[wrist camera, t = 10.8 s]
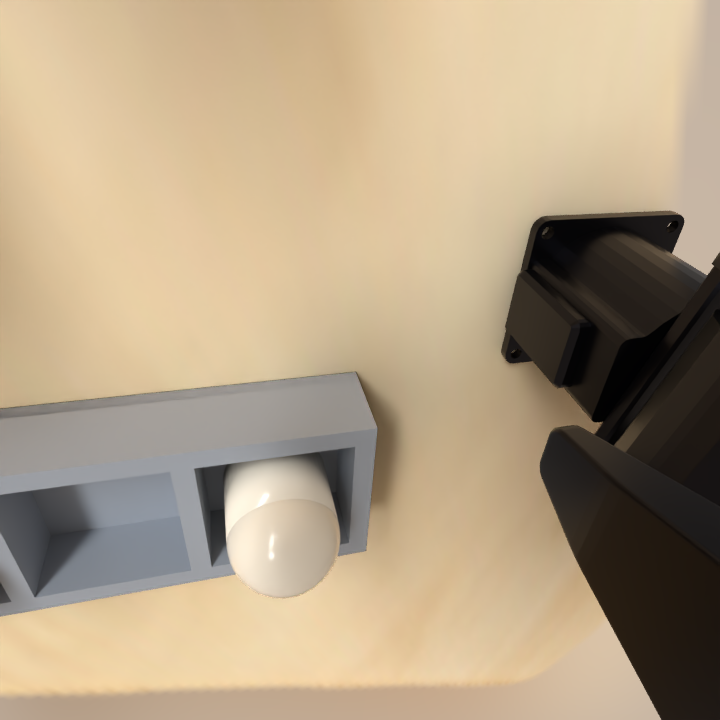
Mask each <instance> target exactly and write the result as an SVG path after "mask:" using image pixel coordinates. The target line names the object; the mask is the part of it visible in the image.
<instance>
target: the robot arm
mask: <svg viewBox="0 0 720 720" xmlns="http://www.w3.org/2000/svg"><path fill="white" fill-rule="evenodd" d="M669 223H671V224H670V225H669ZM668 225H669V226H668ZM683 225H684V218H683V217H682V216H681V215H680V214H678V213H676V212H674V211H655V212H631V213H608V214H584V215H560V216H544V217H541V218H539V219H538V220H536V222H535V223H534V224H533V226H532V228H531V231H530V235H529V239H528V243H527V247H526V251H525V256H524V260H523V264H522V268H521V272H520V273H519V275H518V276H517V280H516V284H515V289H514V293H513V297H512V301H511V305H510V309H509V313H508V317H507V322H506V326H505V327H506V333H505V337H504V341H503V345H502V350H501V353H502V355H503V357H504V358H505V359H506V361H507V362H509V363H520V362H529V361H533V362H534V363H535V364H536V365H537V366H538V368H539V369H540V370H541V371H542V372H543V373H544V375H545V376H546V377H547V378H548V379H549V381H550V382H551V383H552V384H553V385H554V386H555V387H556V388H565V389H566V391H567V392H568V393H569V394H570V395H571V396H572V398H573V399H574V400H575V401H576V402H577V403H578V405H579V406H580V407H581V408H582V409H583V410H584V412H585V413H586V414H587V415H588V416H589V417H590V419H591V420H592V421H593V422H603V423H602V424H601V425H600V427H599V428H598V430H597V431H596V432H595V434H592V433H590V432H589V431H587V430H585V429H583V428H581V427H579V426H574V425H573V426H565V427H558V428H555V429H553V430H552V431H551V433H550V435H549V438H548V440H547V443H546V446H545V449H544V452H543V455H542V458H541V461H540V473H541V477H542V479H543V482H544V484H545V487H546V489H547V492H548V494H549V496H550V499H551V501H552V504H553V506H554V509H555V511H556V513H557V516H558V518H559V521H560V523H561V526H562V528H563V530H564V533H565V535H566V538H567V540H568V543H569V545H570V547H571V549H572V552H573V554H574V556H575V558H576V560H577V562H578V564H579V566H580V568H581V570H582V572H583V574H584V576H585V578H586V580H587V582H588V583H589V585H590V587H591V589H592V591H593V593H594V595H595V597H596V598H597V600H598V602H599V604H600V606H601V608H602V610H603V611H604V613H605V615H606V617H607V619H608V621H609V623H610V625H611V626H612V628H613V630H614V632H615V634H616V636H617V638H618V640H619V641H620V643H621V645H622V647H623V649H624V650H625V652H626V654H627V656H628V658H629V660H630V662H631V664H632V666H633V668H634V669H635V671H636V673H637V675H638V677H639V679H640V681H641V682H642V684H643V686H644V688H645V690H646V692H647V694H648V695H649V697H650V699H651V701H652V703H653V705H654V707H655V708H656V711H657V712H658V714H659V716H660V718H661V720H720V253H719V254H718V256H717V257H716V259H715V260H714V261H713V263H712V264H713V265H714V267H713V268H712V270H711V271H710V273H709V274H708V275H705V274H704V273H702V272H701V271H699V270H697V269H696V268H694V267H692V266H691V265H689V264H687V263H686V262H684V261H683V260H681V259H679V258H678V257H676V256H675V255H673V254H672V252H673V250H674V247H675V245H676V242H677V240H678V238H679V235H680V233H681V230H682V228H683ZM667 226H668V227H667ZM546 227H549V229H548V231H547V232H546V233H545V234H544V235H542V232H543V230H544V229H545V228H546ZM515 349H517V350H516V351H515V352H514V353H512V351H514V350H515Z"/></svg>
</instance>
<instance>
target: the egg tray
mask: <svg viewBox="0 0 720 720" xmlns="http://www.w3.org/2000/svg"><path fill="white" fill-rule="evenodd" d="M377 429H378V428H377V426H376V423H375V420H374V418H373V415H372V413H371V410H370V407H369V405H368V402H367V400H366V397H365V395H364V392H363V389H362V387H361V384H360V382H359V379H358V376H357V374H356V372H351V373H342V374H332V375H322V376H313V377H303V378H293V379H284V380H274V381H265V382H255V383H245V384H236V385H226V386H216V387H207V388H197V389H187V390H178V391H168V392H159V393H149V394H139V395H130V396H120V397H110V398H101V399H91V400H81V401H72V402H62V403H52V404H43V405H33V406H24V407H14V408H4V409H0V616H6V615H12V614H17V613H23V612H28V611H34V610H39V609H45V608H51V607H56V606H62V605H67V604H73V603H79V602H84V601H90V600H95V599H101V598H107V597H112V596H118V595H123V594H129V593H134V592H140V591H146V590H151V589H157V588H162V587H168V586H174V585H179V584H185V583H190V582H196V581H202V580H207V579H213V578H218V577H224V576H229V575H235V572H234V570H233V568H232V566H231V564H230V561H229V557H228V554H227V545H226V526H225V506H224V486H223V474H224V470H225V467H226V465H227V464H232V463H239V462H247V461H254V460H262V459H269V458H276V457H284V456H291V455H299V454H306V453H314V452H319V453H320V454H321V456H322V459H323V462H324V466H325V470H326V474H327V478H328V482H329V486H330V490H331V494H332V498H333V502H334V506H335V510H336V514H337V518H338V522H339V526H340V546H339V552H338V555H337V556H341V555H347V554H352V553H358V552H364V551H366V546H367V535H368V524H369V514H370V503H371V493H372V482H373V471H374V461H375V450H376V440H377Z"/></svg>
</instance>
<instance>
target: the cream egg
mask: <svg viewBox="0 0 720 720" xmlns="http://www.w3.org/2000/svg"><path fill="white" fill-rule="evenodd" d="M223 486H224V506H225V526H226V545H227V554H228V557H229V561H230V564H231V566H232V568H233V570H234V572H235V574H236V575H237V576H238V578H239V579H240V580H241V581H242V582H243V583H244V584H245V585H246V586H247V587H248V588H249V589H251V590H253V591H254V592H256V593H258V594H260V595H263V596H266V597H270V598H278V599H285V598H292V597H296V596H299V595H302V594H304V593H306V592H308V591H310V590H312V589H313V588H315V587H316V586H317V585H318V584H319V583H321V582H322V581H323V580H324V579H325V577H326V576H327V575H328V573H329V572H330V571H331V569H332V567H333V565H334V563H335V561H336V558H337V555H338V552H339V546H340V526H339V522H338V518H337V514H336V510H335V506H334V502H333V498H332V494H331V490H330V486H329V482H328V478H327V474H326V470H325V466H324V462H323V459H322V456H321V454H320V453H319V452H314V453H306V454H299V455H291V456H284V457H276V458H269V459H262V460H254V461H247V462H239V463H232V464H227V465H226V467H225V470H224V474H223Z"/></svg>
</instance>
